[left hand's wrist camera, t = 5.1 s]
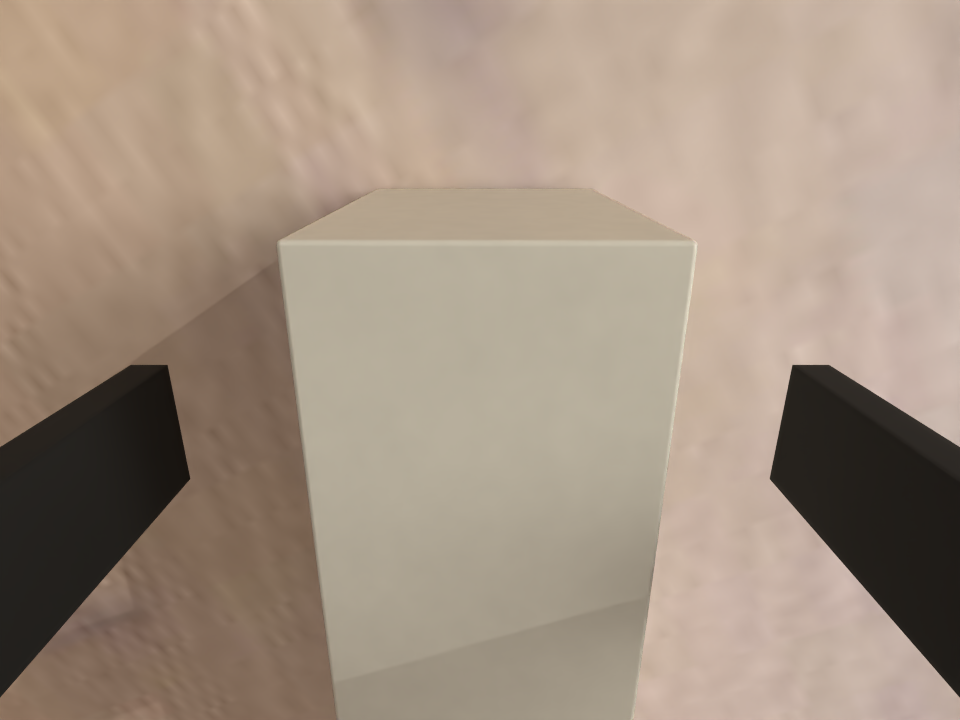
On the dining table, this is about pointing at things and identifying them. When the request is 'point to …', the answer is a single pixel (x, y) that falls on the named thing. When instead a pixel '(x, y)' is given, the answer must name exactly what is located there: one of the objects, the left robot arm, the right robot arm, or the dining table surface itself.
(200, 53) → the dining table surface
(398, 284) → the bar
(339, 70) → the dining table surface
